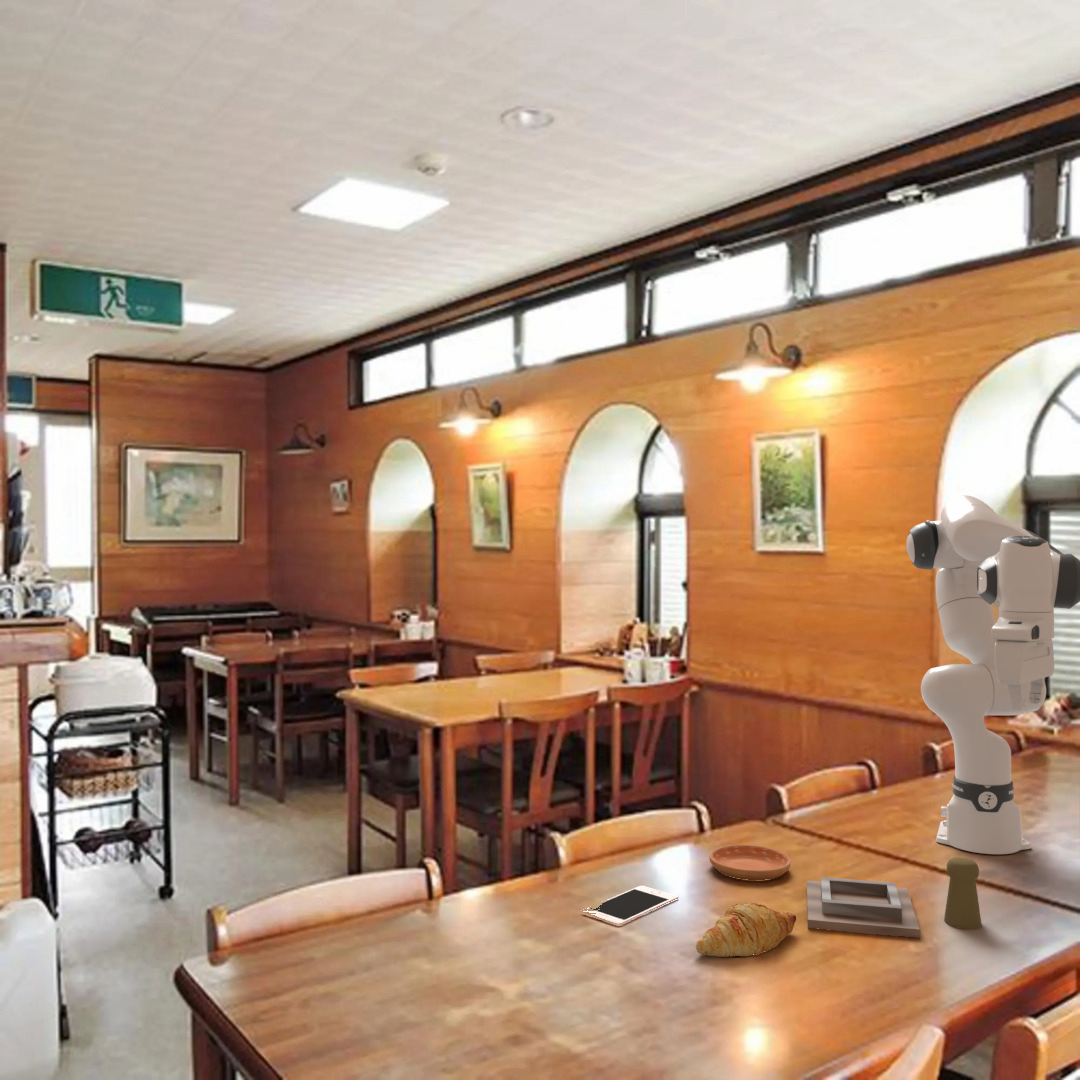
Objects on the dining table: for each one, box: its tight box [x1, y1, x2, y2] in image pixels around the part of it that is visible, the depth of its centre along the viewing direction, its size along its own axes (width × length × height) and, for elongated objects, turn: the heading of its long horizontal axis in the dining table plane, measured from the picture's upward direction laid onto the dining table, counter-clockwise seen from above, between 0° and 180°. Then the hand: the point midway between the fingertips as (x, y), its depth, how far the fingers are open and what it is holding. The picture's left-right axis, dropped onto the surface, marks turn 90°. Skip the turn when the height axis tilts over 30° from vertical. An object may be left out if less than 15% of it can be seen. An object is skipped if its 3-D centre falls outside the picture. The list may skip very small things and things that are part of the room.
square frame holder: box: [806, 876, 921, 939], centre depth 180 cm, size 20×18×4 cm
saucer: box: [708, 844, 792, 880], centre depth 202 cm, size 16×16×3 cm
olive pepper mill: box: [943, 856, 983, 930], centre depth 175 cm, size 6×6×11 cm
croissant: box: [695, 902, 797, 958], centre depth 166 cm, size 21×10×8 cm, turn 122°
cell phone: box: [583, 885, 680, 924], centre depth 183 cm, size 9×18×1 cm, turn 137°
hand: (1027, 706), depth 178 cm, fingers open, 8 cm apart
